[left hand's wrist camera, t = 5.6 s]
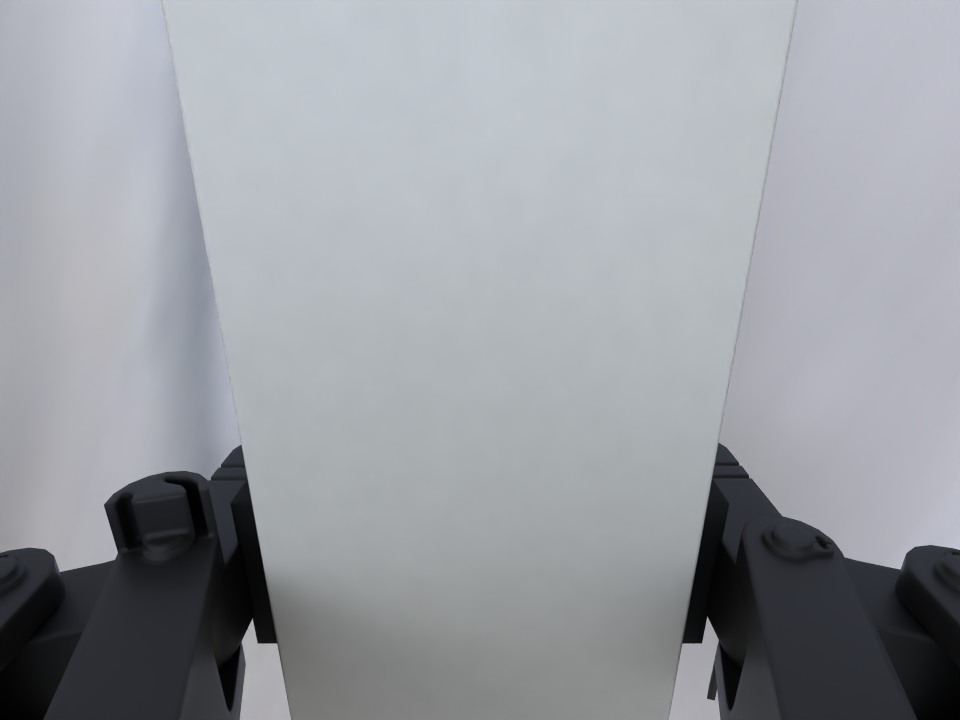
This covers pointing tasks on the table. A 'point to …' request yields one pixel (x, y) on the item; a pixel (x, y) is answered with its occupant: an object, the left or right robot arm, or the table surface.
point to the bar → (479, 329)
